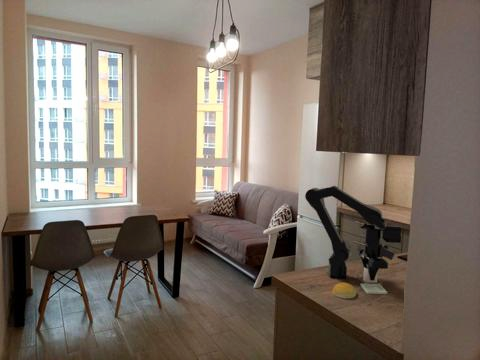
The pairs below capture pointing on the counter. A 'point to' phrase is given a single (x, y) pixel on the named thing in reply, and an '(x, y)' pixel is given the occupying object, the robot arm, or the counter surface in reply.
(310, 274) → the counter surface
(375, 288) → the green tray
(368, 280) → the letter block
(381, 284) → the walnut tray
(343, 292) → the bread roll
